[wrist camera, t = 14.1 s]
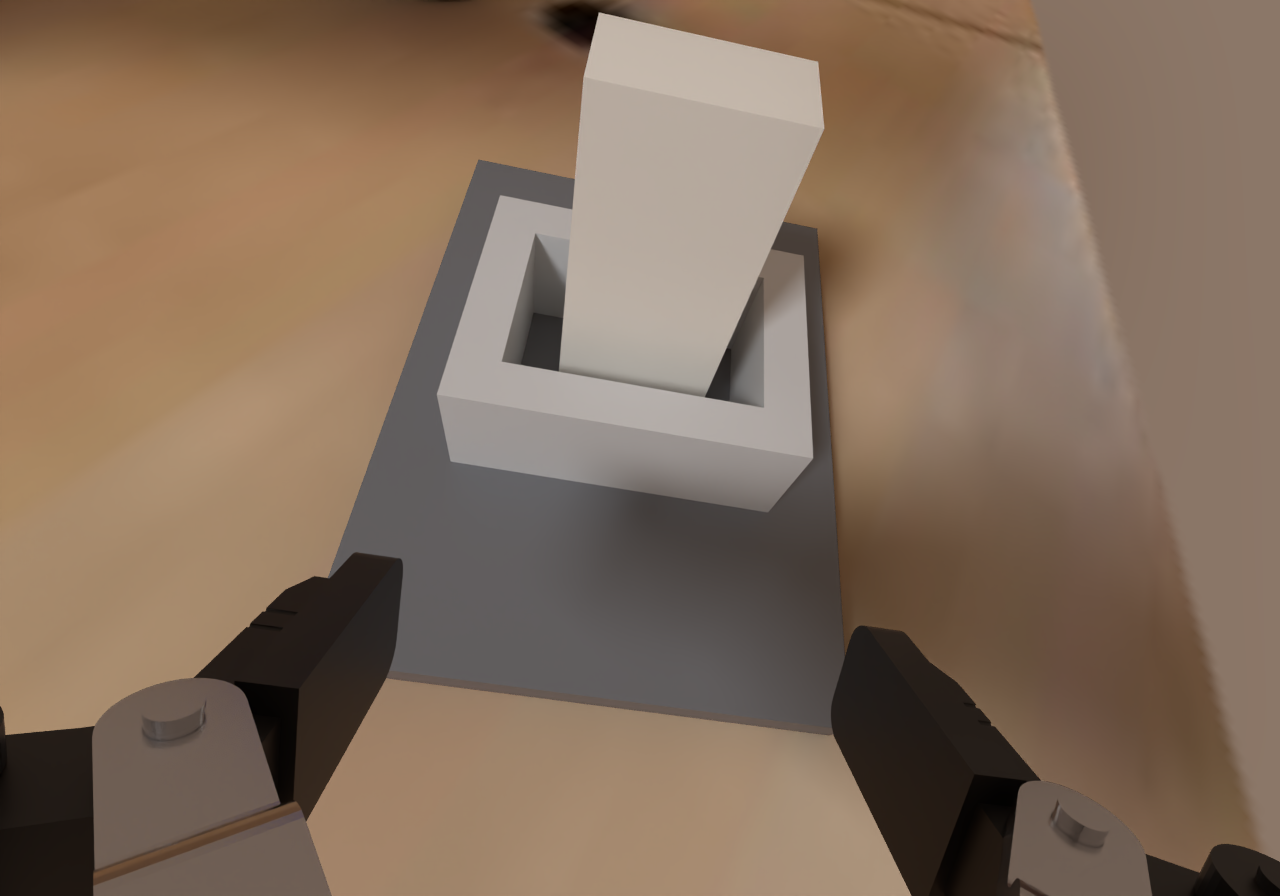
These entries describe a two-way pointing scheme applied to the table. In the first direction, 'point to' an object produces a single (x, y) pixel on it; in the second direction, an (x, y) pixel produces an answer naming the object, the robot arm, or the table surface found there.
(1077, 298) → the table surface
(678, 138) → the rectangular block
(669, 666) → the block insertion holder
